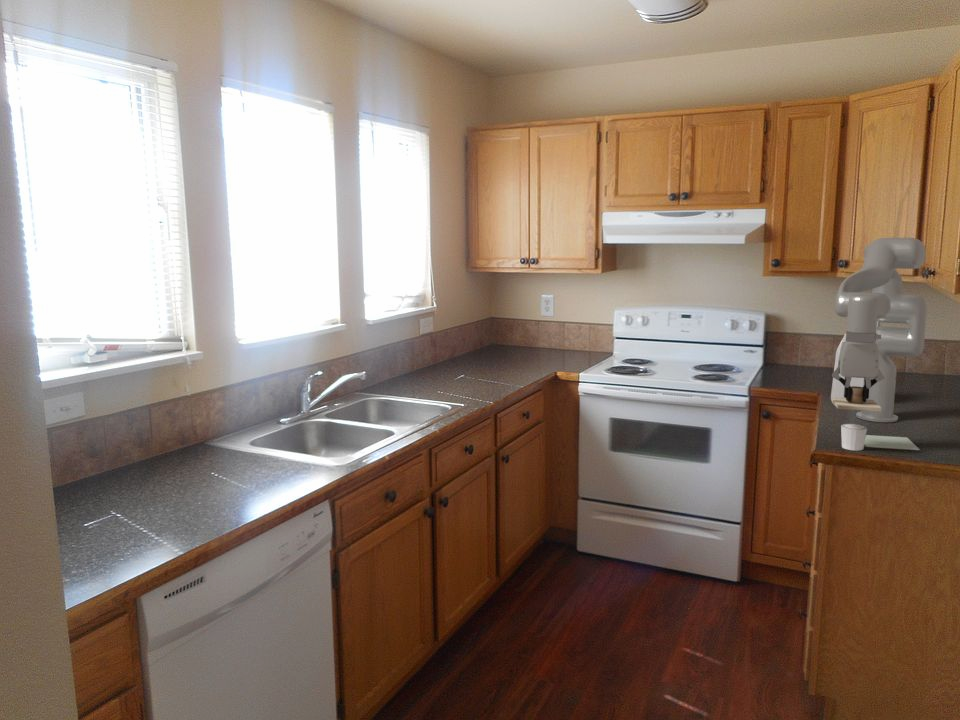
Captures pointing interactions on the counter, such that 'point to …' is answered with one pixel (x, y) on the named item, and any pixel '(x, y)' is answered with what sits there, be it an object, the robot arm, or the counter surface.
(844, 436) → the white cup
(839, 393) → the milk
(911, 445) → the mat
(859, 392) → the lid
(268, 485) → the counter surface
